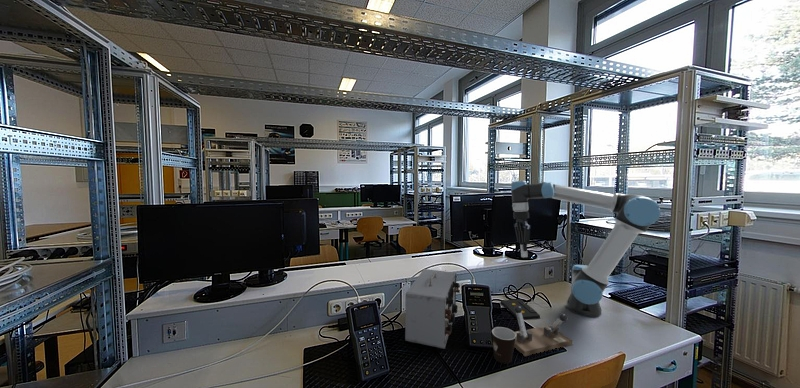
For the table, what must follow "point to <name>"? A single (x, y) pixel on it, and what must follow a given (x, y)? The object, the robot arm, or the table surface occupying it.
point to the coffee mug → (503, 344)
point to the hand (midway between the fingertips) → (524, 256)
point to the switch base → (540, 340)
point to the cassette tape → (526, 309)
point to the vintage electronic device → (431, 308)
